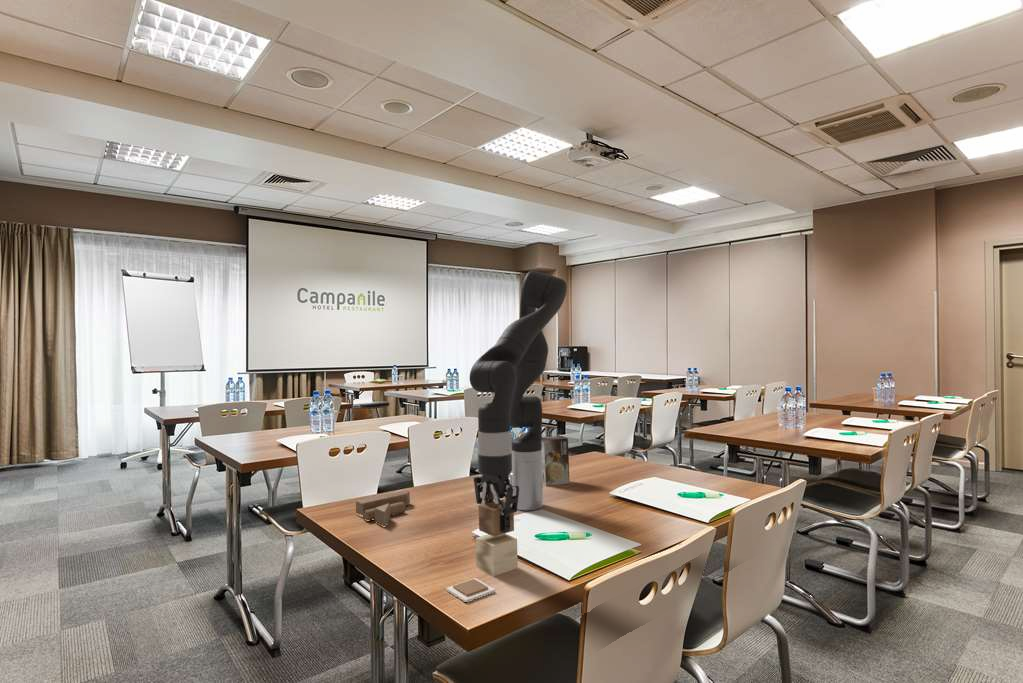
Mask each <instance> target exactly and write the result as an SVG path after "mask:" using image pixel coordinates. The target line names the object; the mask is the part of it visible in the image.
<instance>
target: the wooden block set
mask: <svg viewBox="0 0 1023 683" xmlns="http://www.w3.org/2000/svg"><path fill="white" fill-rule="evenodd" d="M410 493H411V492H410V491H408V490H402V491H396V492H393V493H389V494H380V495H375V496H372V497H366V498H360V499H358V500H357V499H356V501H355V514H356V513H358V514H361V515H363V517H364V518H363V520H364V519H366V520H372V519H375V520H374V523H375V522H377V523H378V524H380V525H383V526H386V524H387V523H388V522H389V523H390V521H391V516H390V515H393V514H397V515H399V514H398V513H401V514H403V513H402V512H404V513H405V512H406V508H407V507H408V506H409V505H410V504H411V503H410V500H411V498H410V496H411V494H410ZM409 503H410V504H409ZM407 505H408V506H407ZM405 506H407V507H405ZM393 516H394V515H393ZM389 520H390V521H389ZM389 523H388V524H389ZM388 524H387V525H388ZM380 525H379V526H380ZM386 527H387V526H386Z"/></svg>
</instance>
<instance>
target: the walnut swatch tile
mask: <svg viewBox="0 0 1023 683" xmlns="http://www.w3.org/2000/svg"><path fill="white" fill-rule="evenodd" d="M445 590H446V592H447V591H448V592H447V593H449V592H450V593H451V595H452V594H453V595H455V596H456V597H458V598H459V599H461V600H463V601H465V602H468V601H471V600H473V601H475V600H474V599H476V600H478V599H477V598H479V599H481V598H484V597H486V595H487V596H489V595H488V594H490V595H492V594H495V593H496V589H495V588H494V587H492V586H490V585H488V584H487V583H485V582H484V581H481V580H480V579H478V578H476V577H474V578H471V579H470V578H469V579H468V580H465V581H462V582H459V583H455V584H453V585H451V586H450V585H449V586H447V587H446V588H445ZM494 592H495V593H494ZM450 593H449V594H450ZM491 593H492V594H491ZM453 595H452V596H453ZM455 596H454V597H455ZM483 596H484V597H483ZM456 597H455V598H456ZM480 597H481V598H480ZM458 598H457V599H458ZM459 599H458V600H459ZM461 600H460V601H461ZM463 601H462V602H463ZM471 602H472V601H471ZM468 603H469V602H468Z"/></svg>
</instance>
